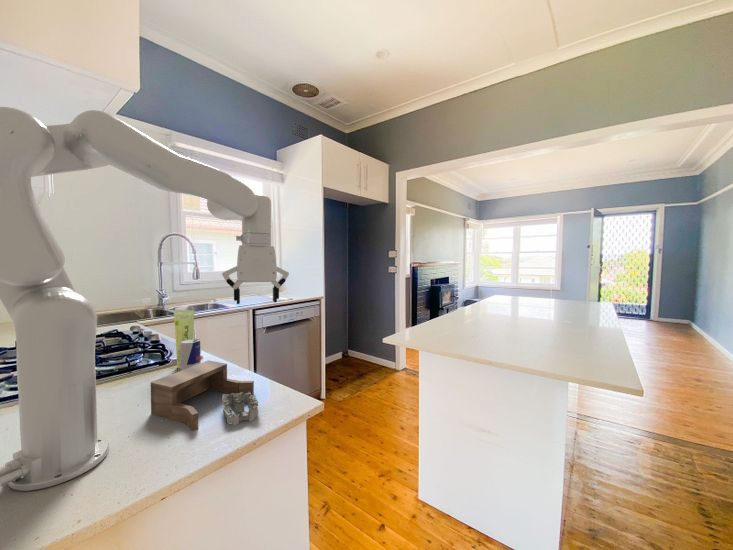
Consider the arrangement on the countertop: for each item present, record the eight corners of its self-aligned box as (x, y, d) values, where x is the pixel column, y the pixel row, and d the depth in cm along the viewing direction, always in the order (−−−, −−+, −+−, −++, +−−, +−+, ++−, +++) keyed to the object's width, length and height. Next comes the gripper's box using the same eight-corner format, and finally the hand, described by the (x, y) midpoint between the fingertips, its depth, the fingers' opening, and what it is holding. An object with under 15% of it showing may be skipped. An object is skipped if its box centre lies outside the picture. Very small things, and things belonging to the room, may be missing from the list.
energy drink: (203, 379, 92) (202, 340, 91) (183, 384, 88) (183, 344, 87) (197, 374, 95) (196, 337, 95) (178, 379, 91) (177, 340, 91)
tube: (175, 370, 98) (174, 311, 97) (174, 365, 102) (173, 309, 101) (194, 367, 101) (194, 310, 100) (193, 362, 105) (192, 308, 104)
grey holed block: (259, 420, 70) (259, 404, 70) (224, 429, 66) (224, 411, 66) (253, 401, 79) (253, 386, 79) (221, 407, 76) (221, 391, 76)
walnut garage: (193, 430, 65) (193, 396, 64) (144, 416, 70) (143, 384, 70) (255, 393, 83) (255, 366, 83) (212, 384, 88) (212, 358, 88)
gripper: (221, 238, 75) (222, 306, 76) (291, 241, 82) (290, 303, 83) (222, 240, 82) (222, 301, 83) (286, 242, 89) (286, 299, 90)
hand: (256, 302), depth 83 cm, fingers open, 9 cm apart
